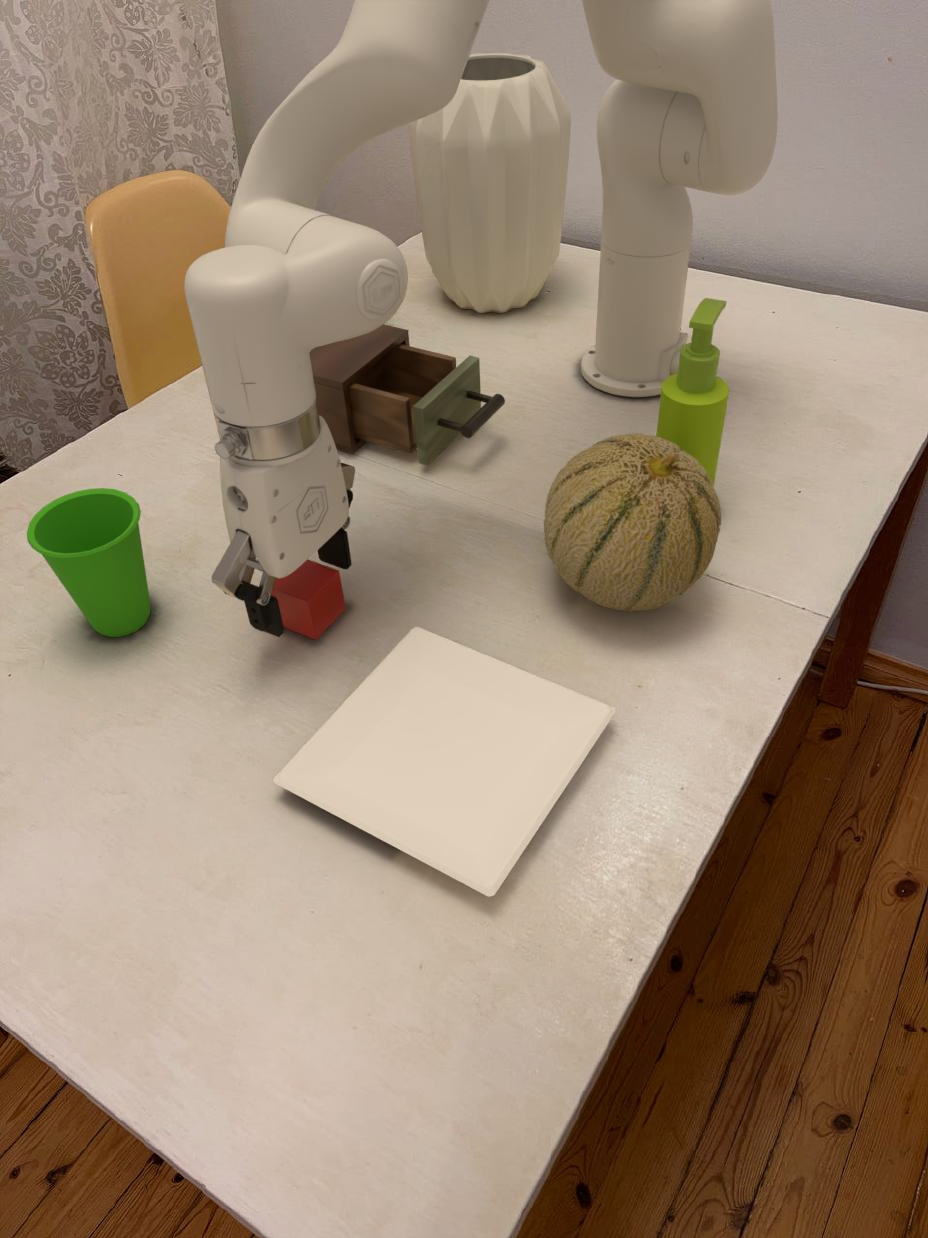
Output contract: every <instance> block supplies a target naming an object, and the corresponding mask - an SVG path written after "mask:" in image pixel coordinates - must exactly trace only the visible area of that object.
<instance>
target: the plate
mask: <svg viewBox="0 0 928 1238" xmlns="http://www.w3.org/2000/svg"><path fill="white" fill-rule="evenodd" d="M616 712H617V710H616V708H615V707H614V706H611V705H609V704H606V703H604V702H602V701H599V700H597V699H594V698H592V697H589V696H587V695H585V694H582V693H580V692H577V691H575V690H574V689H573V690H572V689H570V688H568V687H565V686H563V685H560V684H558V683H556V682H553V681H551V680H549V679H546V678H543V677H541V676H539V675H536V674H534V673H531V672H529V671H528V670H527V671H526V670H524V669H522V668H519V667H517V666H514V665H512V664H509V663H507V662H504V661H502V660H500V659H497V658H495V657H492V656H490V655H488V654H486V653H483V652H480V651H478V650H475V649H473V648H471V647H468V646H466V645H463V644H462V643H459V642H456V641H454V640H451V639H449V638H446V637H444V636H441V635H439V634H437V633H434V632H432V631H430V630H427V629H425V628H422V627H420V626H413V627H412V628H411V629H410V630H409V631H408V633H406V635H405V636H404V637H403V638H401V640H400V641H399V642H398V643H397V644H396V645H395V646H394V648H393V649H392V650H390V652H389V653H388V654H387V655H386V656H385V657H384V658H383V660H381V662H380V663H379V664H378V665H377V666H375V668H374V669H373V670H372V671H371V672H370V674H369V675H368V676H367V677H366V678H365V679H364V680H363V681H362V682H361V683H360V684H359V685H358V687H357V688H356V689H355V690H354V691H352V693H351V694H350V695H349V696H348V697H347V698H346V700H344V702H343V703H342V704H341V705H340V706H339V707H338V708H337V709H336V710H335V712H333V713H332V715H331V716H330V717H329V718H328V719H327V720H326V721H325V722H324V723H323V724H322V726H320V727H319V729H318V730H316V732H315V733H314V734H313V735H312V736H311V737H310V738H309V740H307V742H305V744H304V745H303V746H302V747H301V748H300V749H299V750H298V751H297V752H296V753H295V755H294V756H293V757H292V758H291V759H290V760H289V761H288V762H287V763H286V764H285V765H284V766H283V768H282V769H281V770H279V772H278V773H277V774H276V775H275V776H274V777H273V780H272V781H273V783H274V784H275V785H278V786H279V787H281V788H283V789H285V790H286V791H289V792H291V793H292V794H294V795H295V796H298V797H300V798H301V799H303V800H306V801H308V802H309V803H311V804H312V805H315V806H316V807H318V808H320V809H322V810H325V812H328V813H330V814H332V815H333V816H336V817H337V818H339V819H341V820H343V821H345V822H347V823H348V824H351V825H353V826H354V827H356V828H358V829H360V830H361V831H364V832H366V833H368V834H370V835H371V836H373V837H374V838H377V839H379V840H381V841H382V842H385V843H387V844H389V845H390V846H392V847H394V848H395V849H397V850H399V851H401V852H403V853H405V854H407V855H409V856H411V857H413V858H415V859H417V860H418V861H420V862H422V863H424V864H426V865H428V866H430V867H431V868H434V869H435V870H437V871H439V872H441V873H443V874H445V875H446V876H449V877H450V878H452V879H454V880H456V881H458V882H459V883H462V884H463V885H465V886H467V887H469V888H471V889H473V890H475V891H477V892H478V893H481V894H483V895H484V896H486V897H488V898H489V897H493V896H495V895H496V894H497V892H498V891H499V889H500V888H501V886H502V884H503V883H504V881H505V880H506V878H507V877H508V875H510V872H511V871H512V869H513V868H514V866H515V865H516V864H517V862H518V860H519V859H520V857H521V856H522V855H523V853H524V851H525V850H526V848H527V847H528V845H529V844H530V842H531V840H532V839H533V837H534V836H535V835H536V833H537V831H538V830H539V828H540V827H541V825H542V824H543V822H544V821H545V819H546V818H547V817H548V815H549V813H550V812H551V811H552V809H553V807H554V806H555V804H556V803H557V801H558V800H559V798H560V797H561V795H562V794H563V792H564V790H565V789H566V787H568V785H569V783H570V782H571V780H572V779H573V777H574V775H575V774H576V773H577V771H578V769H579V768H580V767H581V765H582V763H583V762H584V760H585V759H586V758H587V756H588V754H589V753H590V752H591V750H592V749H593V747H594V745H595V744H596V742H597V741H598V740H599V737H600V736H601V735H602V734H603V732H604V731H605V729H606V727H607V726H608V724H609V723H610V721H611V720H612V718H613V717H614V715H615V713H616Z"/></svg>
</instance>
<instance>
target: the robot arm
mask: <svg viewBox="0 0 928 1238" xmlns="http://www.w3.org/2000/svg"><path fill="white" fill-rule="evenodd" d="M581 1H582V6H583V11H584V14H585V15H584V16H585V19H586V24H587V28H588V33H589V37H590V41H591V45H592V48H593V52H594V55H595V57H596V60H597V62H598V64H599V66H600V68H601V69H602V70H603V71H604V72H605V74H607V75H609V76H610V77H612V78H614V79H615V80H614V81H613V82H611V84H610V85H609V87H608V88H607V89H606V90H605V93H604V94H603V97H602V99H601V100H600V104H599V108H598V113H597V119H596V142H597V150H598V157H599V163H600V164H599V165H600V172H601V173H600V174H601V184H602V212H601V213H602V216H601V217H602V218H601V222H602V223H601V237H600V254H599V270H598V271H599V272H598V289H597V291H598V292H597V309H596V327H595V343H594V345H592V346H591V347H590V348H588V349H587V350H586V351H585V353H584V354H583V355H582V356H581V360H580V361H581V362H580V372H581V375H582V376H583V379H584V380H585V381H586V382H587V383H588V384H589V385H591V386H592V387H594V388H595V389H597V390H599V391H602V392H604V393H608V394H610V395H614V396H620V397H627V398H628V397H629V398H648V397H655V396H661V387H662V383H663V381H664V380H665V379H666V378H667V377H669V376H671V375H673V374H676V373H678V365H679V357H680V350H681V348H682V347H683V346H684V345H686V344H688V337H689V334H688V332H682V331H681V329H682V323H683V321H682V320H683V314H684V304H685V298H686V297H685V295H686V287H687V279H688V271H689V264H690V263H689V262H690V254H691V245H692V241H693V231H694V215H693V209H692V204H691V201H690V200H691V199H690V197H689V194H688V191H687V189H686V188H688V189H693V190H697V191H702V192H707V193H710V194H716V195H723V196H736V195H740V194H743V193H745V192H747V191H750V190H752V188H754V187H755V186H756V185H757V184H759V182H761V180H762V179H763V177H764V176H765V174H766V172H767V171H768V169H769V167H770V164H771V163H772V160H773V156H774V153H775V148H776V144H777V136H778V123H779V122H778V120H779V119H778V118H779V116H778V115H779V114H778V88H777V87H778V86H777V85H778V84H777V67H776V66H777V65H776V46H775V45H776V44H775V26H774V16H773V15H774V14H773V8H772V3H771V0H581ZM489 3H490V0H354V1H353V4H352V8H351V11H350V14H349V17H348V20H347V23H346V25H345V28H344V30H343V33H342V34H341V37H340V39H339V41H338V43H337V44H336V46H335V47H334V49H332V51H330V52H329V54H328V55H327V56H326V57H324V59H322V60H321V61H320V62H319V63H318V64H317V65H315V67H314V68H313V69H311V70H310V71H309V72H307V74H306V75H305V76H304V78H302V80H300V81H299V83H298V84H297V85H296V86H295V87H294V88H293V90H291V91H290V93H289V94H288V95H287V96H286V97H285V99H284V100H283V101H282V102H281V103H280V104H279V105H278V106H277V108H275V110H274V111H273V113H271V114H270V116H269V118H267V120H266V121H265V123H264V124H263V125H262V128H261V129H260V131H259V132H258V134H257V135H256V138H255V139H254V142H253V143H252V145H251V148H250V150H249V152H248V155H247V157H246V161H245V164H244V166H243V169H242V171H241V175H240V178H239V180H238V181H239V182H238V185H237V187H236V191H235V194H234V197H233V199H232V202H231V206H230V210H229V213H228V218H227V223H226V229H225V236H224V247H222V248H218V249H214V250H212V251H208V252H206V253H204V254H202V255H201V256H198V258H196V260H194V261H193V262H192V263H191V264H190V266H189V267H188V268H187V271H186V272H185V275H184V286H183V287H184V295H185V299H186V305H187V308H188V313H189V317H190V321H191V325H192V328H193V333H194V334H193V335H194V338H195V341H196V346H197V350H198V354H199V358H200V362H201V366H202V367H201V368H202V371H203V374H204V380H205V383H206V387H207V391H208V396H209V400H210V404H211V408H212V411H213V416H214V421H215V424H216V429H217V433H218V437H219V441H218V442H216V443H215V444H214V451H215V454H216V455H217V456H218V457H219V475H220V476H219V477H220V490H221V501H222V507H223V515H224V519H225V526H226V530H227V535H228V538H229V542H230V543H229V545H228V546H227V549H226V550H225V551H224V554H223V555H222V557H221V559H220V561H219V563H218V564H217V566H216V568H215V570H214V571H213V573H212V575H211V582H212V583H213V584H214V585H215V586H216V587H218V589H220V590H221V591H223V593H224V594H225V595H228V596H230V597H232V598H235V599H238V600H239V601H243V602H244V606H245V609H246V613H247V618H248V621H249V624H250V626H251V627H252V628H253V629H255V630H256V631H257V630H258V631H259V632H265V633H267V634H269V635H272V636H274V637H278V638H279V637H281V636H282V635H283V634H284V633H285V627H284V626H283V622H282V617H281V613H280V608H279V604H278V600H277V598H276V597H274V596H272V595H271V594H272V590H273V587H274V583H275V580H276V578H283V577H286V576H288V575H290V574H291V573H292V572H294V571H295V570H296V569H297V568H299V567H300V566H301V565H302V564H303V563H304V562H305V561H306V560H307V559H308V560H309V559H310V558H311V557H312V556H313V555H314V554H315V553H317V555H318V560H320V562H323V563H325V564H329V565H331V566H333V567H337V568H339V569H342V570H348V569H349V568H350V567H351V566H352V565H353V564H352V563H353V562H352V557H351V551H350V550H351V549H350V543H349V537H348V536H349V535H348V531H347V529H348V528H349V527H350V525H351V517H350V516H349V515H350V507H351V504H352V502H353V500H354V492H353V491H352V489H353V488H354V481H355V474H356V467H355V466H354V465H351V464H348V463H345V462H341V459H340V456H339V452H338V450H337V449H336V446H335V442H334V440H333V437H332V435H331V432H330V430H329V427H328V425H327V423H326V421H325V420H324V418H323V417H322V416H320V415H319V412H318V406H317V399H316V392H315V386H314V379H313V373H312V366H311V360H310V351H311V350H312V349H314V348H316V347H319V346H323V345H327V344H331V343H334V342H338V341H343V340H347V339H351V338H354V337H358V336H361V335H364V334H367V333H369V332H371V331H373V330H375V329H377V328H379V327H380V326H382V325H383V324H386V323H387V322H389V321H390V320H391V319H392V318H393V316H394V315H395V314H396V313H397V312H398V310H399V309H400V307H401V305H402V304H403V302H404V299H405V297H406V294H407V290H408V282H409V272H408V271H409V270H408V265H407V263H406V259H405V257H404V254H403V253H402V251H401V250H400V248H399V246H397V245H396V244H395V242H394V241H392V239H391V238H390V237H388V236H386V235H385V234H383V233H381V232H380V231H378V230H376V229H373V228H371V227H368V226H366V225H364V224H360V223H356V222H353V221H350V220H346V219H343V218H340V217H337V216H334V215H332V214H329V213H326V212H323V211H319V210H316V208H317V204H318V203H319V202H318V201H319V199H320V197H321V195H322V192H323V190H324V188H325V186H327V185H326V184H327V183H328V182H329V179H330V178H331V176H332V174H334V172H335V171H336V170H337V169H338V167H339V166H340V165H341V164H342V163H343V161H344V160H346V159H347V157H348V156H349V155H351V154H352V153H353V152H354V151H355V150H357V149H358V148H359V147H361V146H363V145H364V144H366V143H367V142H370V141H371V140H373V139H375V138H376V137H379V136H381V135H384V134H386V133H388V132H391V131H393V130H396V129H398V128H401V127H403V126H406V125H408V124H409V123H411V122H414V121H416V120H418V119H421V118H424V117H426V116H428V115H430V114H433V113H435V112H437V111H439V110H441V109H442V108H444V107H445V106H447V105H448V104H449V102H450V101H451V100H452V99H453V97H454V96H455V94H456V92H457V89H458V86H459V83H460V80H461V77H462V74H463V72H464V69H465V66H466V63H467V61H468V58H469V55H470V54H471V52H472V49H473V46H474V44H475V41H476V38H477V36H478V33H479V30H480V27H481V25H482V22H483V20H484V17H485V14H486V11H487V8H488V6H489ZM255 570H258V571H260V572H262V575H261V578H260V581H259V586H258V585H255V584H253V583H252V580H253V576H254V573H255Z"/></svg>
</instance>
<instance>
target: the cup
mask: <svg viewBox="0 0 928 1238" xmlns="http://www.w3.org/2000/svg"><path fill="white" fill-rule="evenodd" d="M141 513H142V510H141V507H140V504H139V503H138V502H137V500H136V499H135V498H134V497H133V496H131V495H130V494H128V493H126V492H124V491H122V490H118V489H115V488H106V487H105V488H104V487H98V488H87V489H82V490H77V491H74V492H71V493H67V494H64V495H62V496H60V497H58V498H56V499H54V500H52V501H51V502H49V503H47V504H46V505H44V506H43V507H42V508H41V509H40V510H38V511H37V512H36V513H35V514H34V515H33V517H32V519H31V520H30V521H29V523H28V526H27V531H26V539H27V543H28V544H29V546H30V547H31V548H32V550H34V551H36V552H37V553H39V554H40V555H41V556H42V557H43V559H44V560H45V562H46V563H47V564H48V566H49V567H50V568H51V570H52V571H53V573H54V574H55V576H56V577H57V579H58V580H59V582H60V583H61V584H62V586H63V588H65V590H66V591H67V593H68V594H69V596H70V598H71V599H72V600H73V602H74V603H75V605H76V607H78V609H79V610H80V612H81V613H82V614H83V616H84V617H85V619H86V621H88V623H89V624H90V626H91V628H92V629H93V630H94V631H95V632H97V633H99V634H100V635H101V636H104V637H109V638H119V637H124V636H125V637H126V636H128V635H131V634H133V633H135V632H137V631H138V630H140V629H141V628H142V627H144V625H145V624H146V623H147V622H148V620H149V618H150V615H151V609H152V608H151V599H150V594H149V593H150V592H149V585H148V579H147V573H146V572H147V571H146V566H145V565H146V564H145V559H144V552H143V544H142V537H141V531H140V525H139V521H141Z"/></svg>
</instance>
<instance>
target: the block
mask: <svg viewBox="0 0 928 1238" xmlns="http://www.w3.org/2000/svg"><path fill="white" fill-rule="evenodd" d="M341 579H342V578H341V574H340V570H338V569H336V568H334V567H332V566H327V565H325V564H322V563H319V562H316V561H315V560H311V559H309V558H308V559H307V560H306V561H305V562H304V563H303V564H302V565H301V566H300V567H299V568H297V569H296V570H295V571H294V572H292V573H291V574H290V575H288V576H286V577H283V578H276V580H275V583H274V587H273V590H272V594H271V595H272V596H274V597H276V598H277V600H278V604H279V608H280V613H281V617H282V622H283V626H284V629H287V630H290V631H292V632H295V633H297V634H300V635H302V636H305V637H307V638H310V639H312V640H315V641H317V640H318V639H319V638H320V637H321V636H322V634H324V632H326V630H327V629H328V628H330V627H331V625H332V624H333V623H334V622H335V621H336V620H337V619H338V618H339V616H341V615H342V613H343V612H344V611H345V610H346V603H345V597H344V590H343V586H342V580H341Z"/></svg>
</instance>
